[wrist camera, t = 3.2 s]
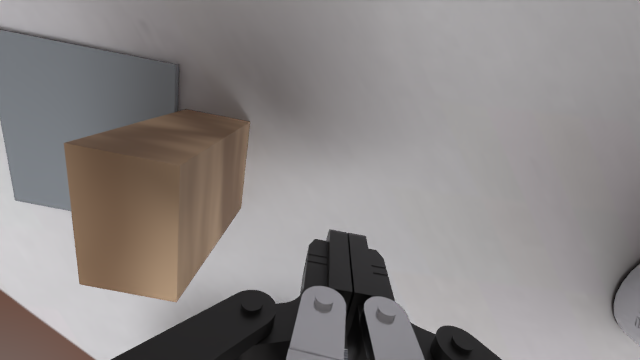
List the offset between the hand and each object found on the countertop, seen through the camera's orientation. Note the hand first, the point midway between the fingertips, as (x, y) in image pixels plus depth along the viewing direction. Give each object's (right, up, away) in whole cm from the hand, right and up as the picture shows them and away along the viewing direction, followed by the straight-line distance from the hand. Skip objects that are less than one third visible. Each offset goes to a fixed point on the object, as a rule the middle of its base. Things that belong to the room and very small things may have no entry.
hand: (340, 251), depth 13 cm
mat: (-16, +6, +7) cm, 18 cm away
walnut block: (-8, +4, +7) cm, 11 cm away
